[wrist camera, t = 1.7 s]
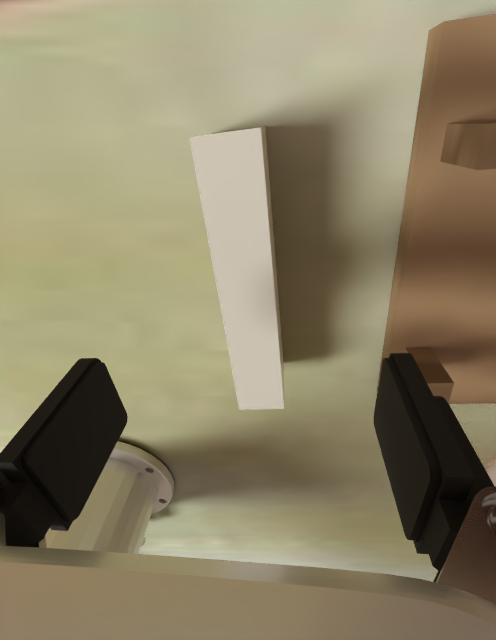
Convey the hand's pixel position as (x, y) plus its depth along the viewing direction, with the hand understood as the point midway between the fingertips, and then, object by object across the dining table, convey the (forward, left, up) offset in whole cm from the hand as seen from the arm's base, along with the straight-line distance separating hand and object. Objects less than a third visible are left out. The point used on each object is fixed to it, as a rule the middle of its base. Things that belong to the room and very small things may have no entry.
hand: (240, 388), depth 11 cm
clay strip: (-1, 0, -12) cm, 12 cm away
